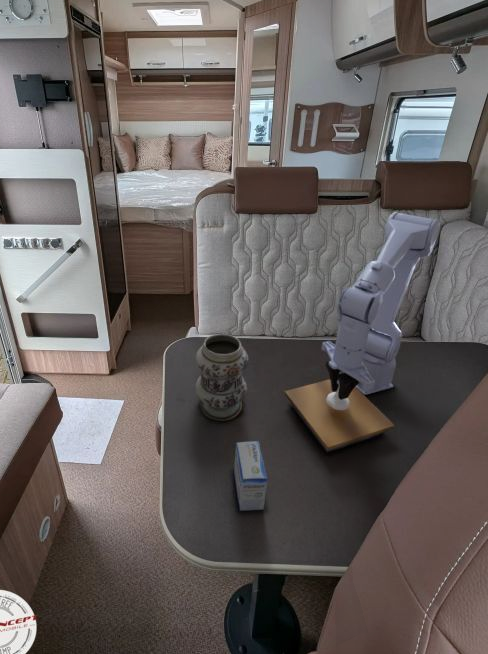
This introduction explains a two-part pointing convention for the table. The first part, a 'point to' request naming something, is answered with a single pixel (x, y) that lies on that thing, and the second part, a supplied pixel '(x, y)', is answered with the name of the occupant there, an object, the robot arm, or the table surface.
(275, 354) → the table surface
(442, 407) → the table surface
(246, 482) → the medicine box
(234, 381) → the apothecary jar
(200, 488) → the table surface
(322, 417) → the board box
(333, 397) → the chess piece
